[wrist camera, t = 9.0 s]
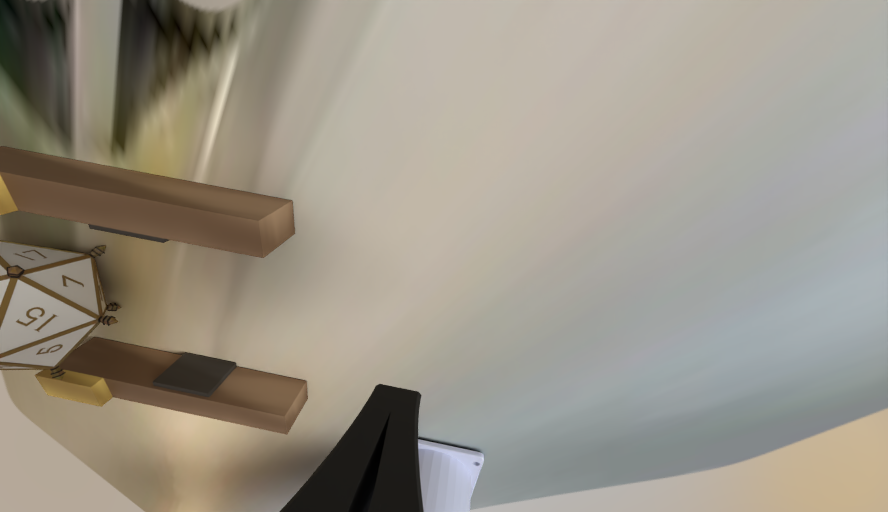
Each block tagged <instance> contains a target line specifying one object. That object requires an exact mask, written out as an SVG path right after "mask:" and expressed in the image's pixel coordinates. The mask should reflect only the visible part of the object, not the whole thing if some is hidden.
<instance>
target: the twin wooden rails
mask: <svg viewBox="0 0 888 512" xmlns="http://www.w3.org/2000/svg"><path fill="white" fill-rule="evenodd" d="M17 210H20V211H25V212H30V213H35V214H40V215H45V216H50V217H55V218H61V219H66V220H71V221H76V222H81V223H86V224H88V225H89V227H90V229H95V230H100V231H106V232H111V233H116V234H121V235H126V236H131V237H136V238H141V239H147V240H152V241H157V242H162V243H164V242H166V241H168V240H174V241H179V242H184V243H189V244H194V245H199V246H204V247H210V248H215V249H220V250H225V251H230V252H235V253H240V254H246V255H251V256H256V257H261V258H264V257H265V256H267V255H268V254H269V253H271V252H272V251H273V250H274V249H276V248H277V247H278V246H280V245H281V244H282V243H283V242H285V241H286V240H287V239H289V238H290V237H291V236H292V235H294V234H295V227H294V214H293V201H292V200H286V199H281V198H276V197H270V196H265V195H260V194H254V193H249V192H244V191H238V190H233V189H228V188H222V187H217V186H212V185H206V184H201V183H196V182H190V181H185V180H180V179H174V178H169V177H164V176H158V175H153V174H148V173H142V172H137V171H132V170H126V169H121V168H116V167H110V166H105V165H100V164H94V163H89V162H83V161H78V160H73V159H67V158H62V157H57V156H51V155H46V154H41V153H35V152H30V151H25V150H19V149H14V148H9V147H3V146H1V147H0V215H2V214H6V213H10V212H14V211H17ZM59 368H61V369H64V370H63V371H64V372H66V373H64V376H63V379H62V381H61V380H58V379H55V378H52V377H53V376H52V375H50V374H51V370H50V369H46V370H42V371H41V372H39V373H38V374H36V375H35V376H36V378H37V380H38V381H39V383H40V384H41V386H42V387H43V389H44V390H45V392H46V393H47V395H50V396H54V397H59V398H63V399H68V400H73V401H77V402H82V403H87V404H91V405H96V406H100V407H102V406H103V405H104V404H105V403H106V402H108V401H109V400H110V399H111V398H112V397H115V398H120V399H124V400H129V401H134V402H138V403H143V404H148V405H152V406H157V407H162V408H166V409H171V410H175V411H180V412H185V413H189V414H194V415H199V416H203V417H208V418H213V419H217V420H222V421H227V422H231V423H236V424H241V425H245V426H250V427H255V428H259V429H264V430H269V431H273V432H278V433H283V434H288V432H289V430H290V429H291V427H292V425H293V423H294V422H295V420H296V418H297V416H298V415H299V413H300V411H301V409H302V408H303V406H304V404H305V403H306V401H307V399H308V395H307V382H306V381H304V380H299V379H294V378H289V377H284V376H280V375H275V374H270V373H265V372H260V371H256V370H251V369H246V368H241V367H237V366H236V363H234V362H229V361H225V360H220V359H215V358H210V357H205V356H201V355H196V354H191V353H186V352H185V353H184V354H183V355H179V354H174V353H169V352H164V351H160V350H155V349H150V348H145V347H140V346H135V345H131V344H126V343H121V342H116V341H111V340H107V339H102V338H97V337H94V338H92V339H91V340H89V341H87V342H86V343H84V344H83V345H81V346H80V347H78V348H77V349H75V350H73V351H72V353H71V354H70V355H69V356H68V357H67V358H66V359H65V360H64V361H63V362H62V363H61V364H60V365H59Z"/></svg>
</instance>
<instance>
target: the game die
mask: <svg viewBox="0 0 888 512" xmlns="http://www.w3.org/2000/svg"><path fill="white" fill-rule="evenodd" d="M105 248H106V246H101V247H95V249H94V250H92V252H91V253H90V254H86V253H79V252H73V251H67V250H60V249H54V248H48V247H41V246H35V245H28V244H22V243H16V242H9V241H3V240H0V370H46V369H50V370H51V374H50V375H52V376H53V377H52V378H55V379H58V380H61V381H62V379H63V376H64V373H66V372H64V371H63V370H64V369H61V368H59V365H60V364H61V363H62V362H63V361H64V360H65V359H66V358H67V357H68V356H69V355H70V354H71V353H72V351H73V350H74V349H75V348H76V347H77V346H78V345H79V344H80V343H81V342H82V341H83V340H84V339H85V338H86V337H87V336H88V335H89V334H90V333H91V332H92V331H93V330H94V329H95V328H96V327H97V326H98V324H99V323H100V322H101V323H103V325H105V324H108V326H109V325H111V324H113V323H117V322H118V321H117V320H116V319H115V317H113V316H104V314H105V312H106V310H108V311H117V309H119V308H121V307H119V306H118V305H117V304H116V303H114V304H111V303H110V304H109V305H107V303H106V300H105V296H104V292H103V288H102V285H101V281H100V277H99V273H98V270H97V266H96V262H95V259H94V258H95V257H96V256H101V254H102V253H104V251H105Z"/></svg>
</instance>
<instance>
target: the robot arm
mask: <svg viewBox="0 0 888 512" xmlns="http://www.w3.org/2000/svg"><path fill="white" fill-rule="evenodd" d="M420 399H421V394H420V393H419V392H417V391H412V390H407V389H402V388H397V387H392V386H388V385H383V384H379V385H377V386H376V387H375V389H374V391H373V392H372V394H371V396H370V397H369V399H368V401H367V402H366V404H365V406H364V407H363V409H362V410H361V412H360V413H359V415H358V416H357V417H356V419H355V420H354V422H353V423H352V425H351V426H350V427H349V429H348V430H347V431H346V433H345V434H344V435H343V437H342V438H341V439H340V441H339V442H338V443H337V445H336V446H335V447H334V449H333V450H332V451H331V453H330V454H329V455H328V456H327V458H326V459H325V460H324V461H323V462H322V464H321V465H320V466H319V467H318V468H317V470H316V471H315V472H314V473H313V475H312V476H311V477H310V478H309V479H308V481H307V482H306V483H305V484H304V485H303V486H302V487H301V489H300V490H299V491H298V492H297V493H296V494H295V495H294V497H293V498H292V499H291V500H290V501H289V502H288V503H287V504H286V505H285V506H284V508H283V509H282V510H281V511H280V512H470V498H471V495H472V493H473V490H474V487H475V484H476V481H477V479H478V476H479V473H480V470H481V468H482V465H483V462H484V455H483V454H482V453H480V452H477V451H472V450H467V449H462V448H458V447H453V446H448V445H444V444H439V443H434V442H429V441H425V440H420V439H418V416H419V405H420Z"/></svg>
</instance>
